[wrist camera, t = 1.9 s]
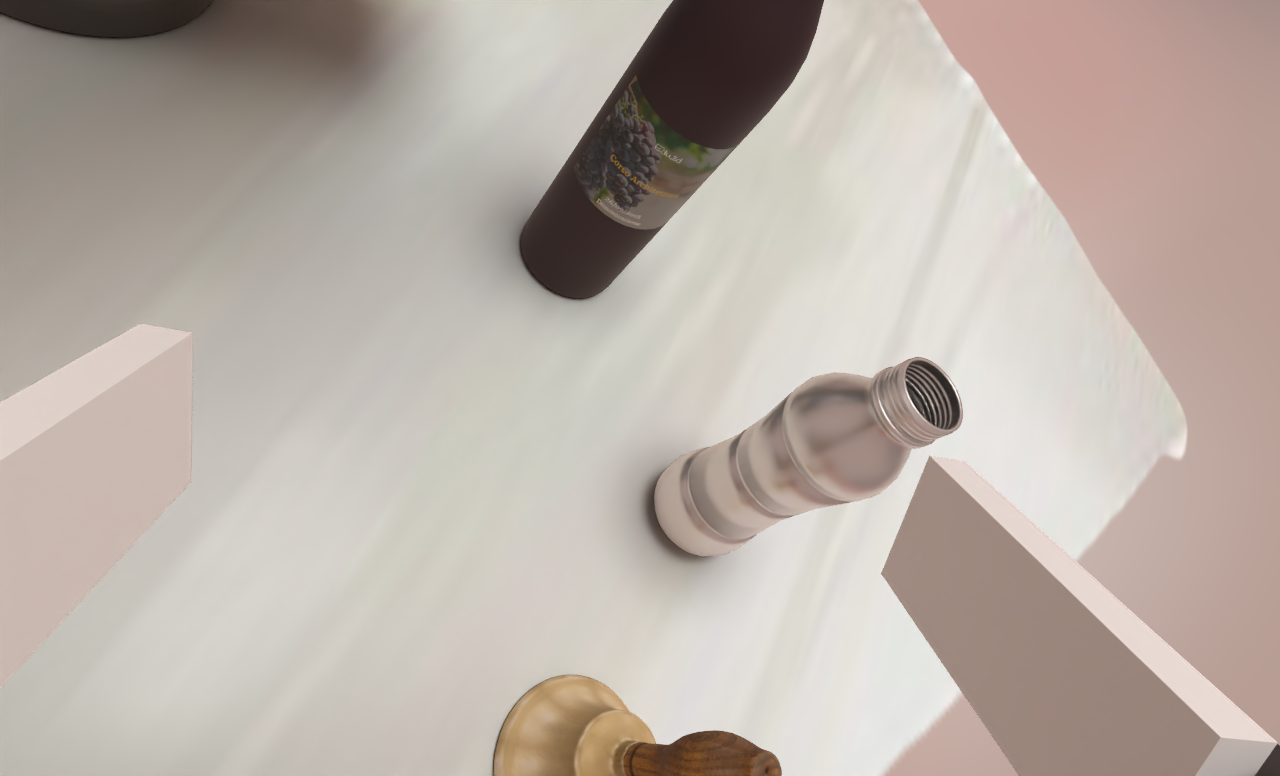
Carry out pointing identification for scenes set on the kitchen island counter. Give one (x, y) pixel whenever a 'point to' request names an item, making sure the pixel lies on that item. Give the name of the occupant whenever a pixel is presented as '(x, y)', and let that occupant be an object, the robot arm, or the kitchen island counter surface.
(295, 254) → the kitchen island counter surface
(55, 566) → the robot arm
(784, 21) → the wine bottle
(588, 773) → the hand bell
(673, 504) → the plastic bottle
